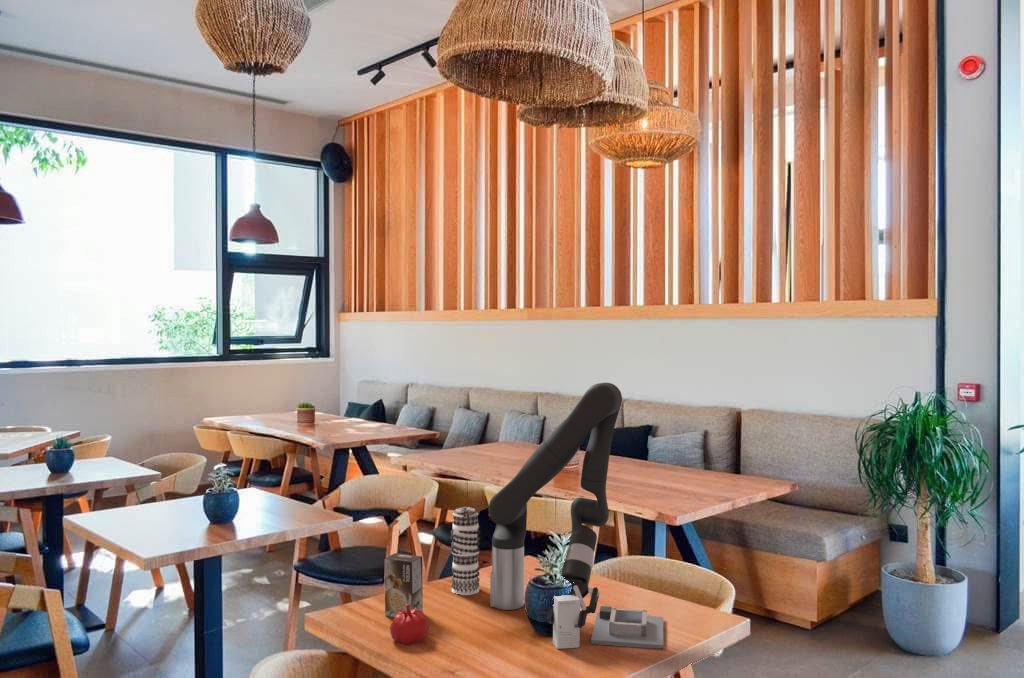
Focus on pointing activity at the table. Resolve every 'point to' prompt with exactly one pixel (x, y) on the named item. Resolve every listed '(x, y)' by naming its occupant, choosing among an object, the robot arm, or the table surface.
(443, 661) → the table surface
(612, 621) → the guard collar
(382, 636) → the table surface
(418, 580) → the coffee box
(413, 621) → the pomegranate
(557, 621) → the skincare box
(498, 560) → the robot arm
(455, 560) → the decorative candle
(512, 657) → the table surface
